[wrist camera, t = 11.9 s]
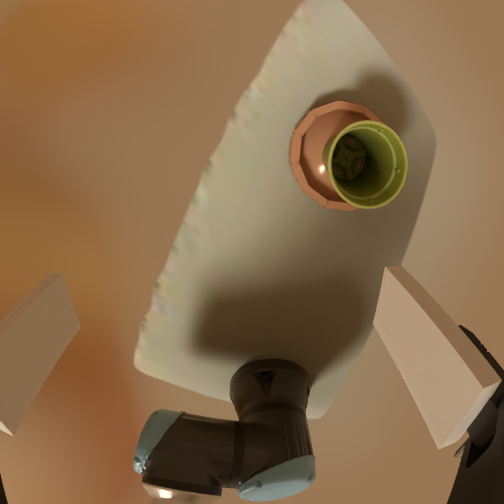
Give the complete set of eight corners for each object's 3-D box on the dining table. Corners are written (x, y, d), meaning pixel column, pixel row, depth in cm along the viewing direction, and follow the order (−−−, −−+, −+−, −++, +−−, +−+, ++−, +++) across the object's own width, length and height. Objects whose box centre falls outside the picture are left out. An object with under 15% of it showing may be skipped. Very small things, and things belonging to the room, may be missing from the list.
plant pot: (386, 143, 34) (420, 148, 26) (358, 203, 38) (385, 222, 30) (327, 109, 33) (350, 103, 25) (298, 174, 36) (313, 186, 28)
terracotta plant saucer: (347, 224, 40) (353, 230, 38) (267, 164, 37) (268, 167, 34) (403, 149, 36) (412, 151, 33) (329, 83, 32) (334, 80, 30)
